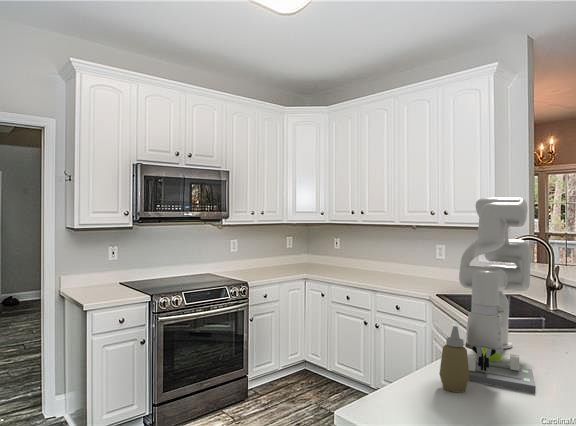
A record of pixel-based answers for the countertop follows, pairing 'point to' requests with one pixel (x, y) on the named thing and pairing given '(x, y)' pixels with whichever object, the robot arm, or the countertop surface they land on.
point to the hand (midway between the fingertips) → (483, 369)
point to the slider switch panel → (504, 377)
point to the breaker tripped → (471, 362)
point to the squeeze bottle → (454, 363)
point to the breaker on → (514, 362)
